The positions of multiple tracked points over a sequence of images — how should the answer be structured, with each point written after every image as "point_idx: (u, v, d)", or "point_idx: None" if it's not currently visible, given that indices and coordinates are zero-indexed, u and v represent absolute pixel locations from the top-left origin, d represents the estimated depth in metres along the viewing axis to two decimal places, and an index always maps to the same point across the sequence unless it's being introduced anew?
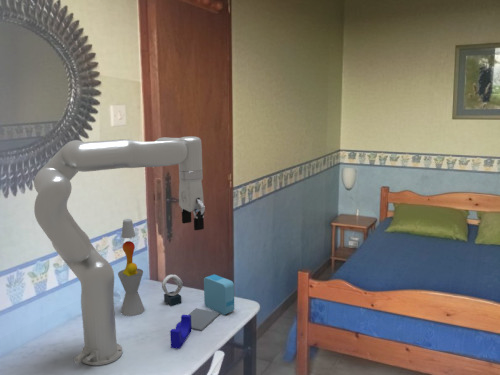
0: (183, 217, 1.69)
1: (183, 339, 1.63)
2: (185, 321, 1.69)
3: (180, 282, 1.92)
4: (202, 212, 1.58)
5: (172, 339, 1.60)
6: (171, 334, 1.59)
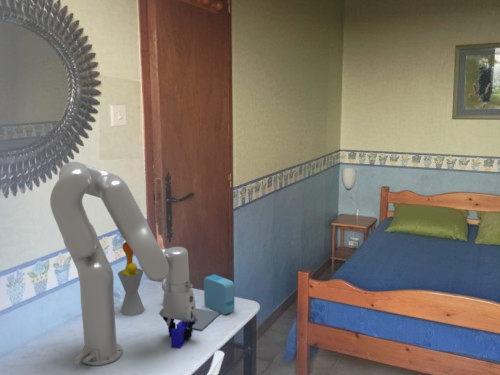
0: None
1: (184, 338, 1.63)
2: None
3: None
4: None
5: (172, 338, 1.60)
6: (171, 333, 1.60)
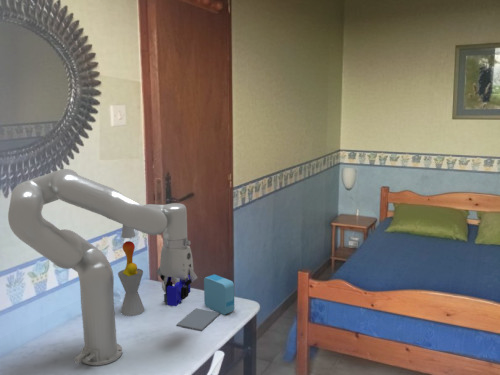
0: None
1: (180, 297, 1.60)
2: None
3: None
4: None
5: (168, 296, 1.57)
6: (168, 290, 1.57)
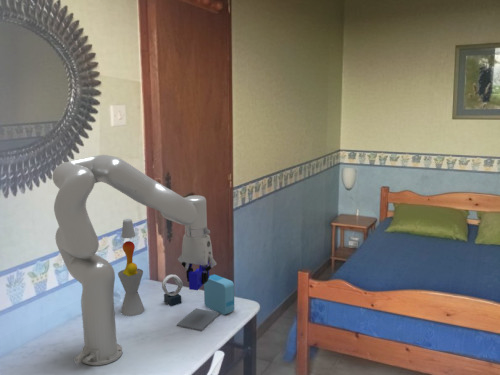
0: None
1: (201, 282, 1.73)
2: None
3: (180, 282, 1.92)
4: None
5: (190, 280, 1.70)
6: (189, 276, 1.70)
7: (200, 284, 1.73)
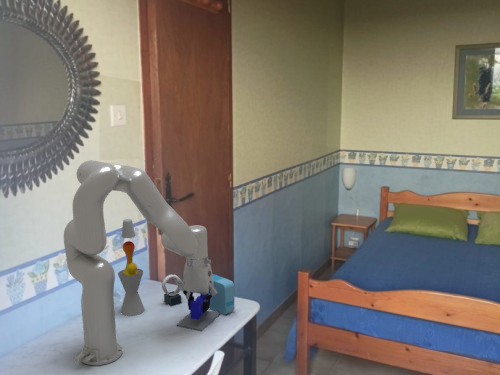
0: None
1: (202, 310, 1.76)
2: None
3: (180, 282, 1.92)
4: None
5: (192, 310, 1.72)
6: (191, 305, 1.72)
7: (201, 313, 1.75)
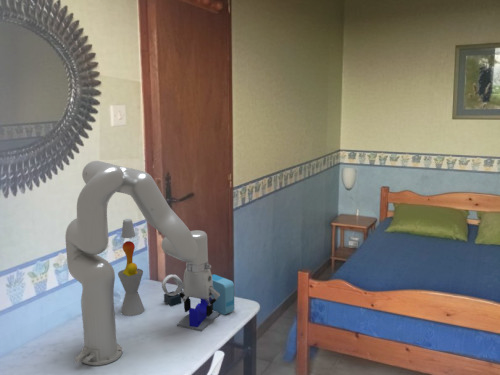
0: None
1: (201, 318, 1.76)
2: (204, 302, 1.82)
3: (180, 282, 1.92)
4: None
5: (191, 317, 1.73)
6: (190, 312, 1.73)
7: (200, 320, 1.75)
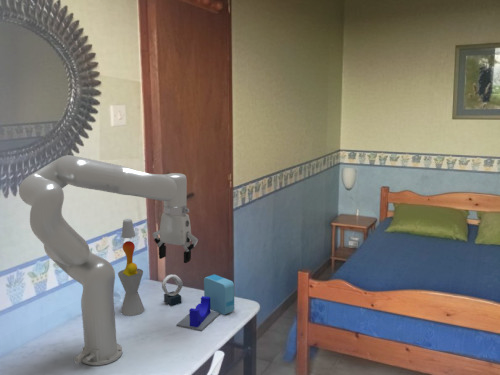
0: None
1: (201, 318, 1.76)
2: (204, 302, 1.82)
3: (180, 282, 1.92)
4: None
5: (191, 317, 1.73)
6: (190, 313, 1.72)
7: (201, 321, 1.75)
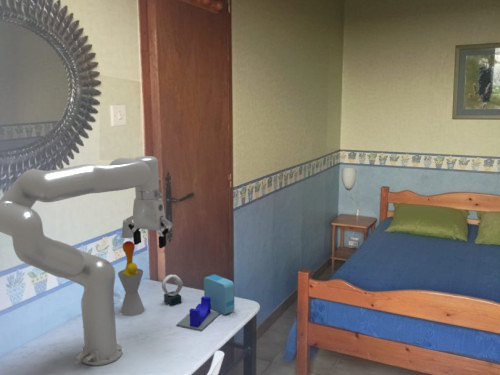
0: None
1: (202, 318, 1.76)
2: (205, 302, 1.82)
3: (180, 282, 1.92)
4: None
5: (191, 317, 1.73)
6: (190, 313, 1.72)
7: (201, 321, 1.75)
